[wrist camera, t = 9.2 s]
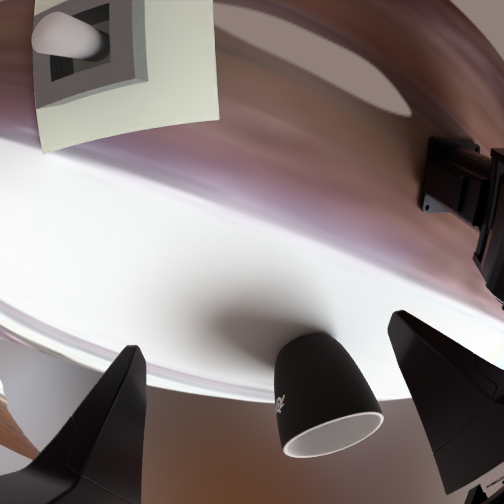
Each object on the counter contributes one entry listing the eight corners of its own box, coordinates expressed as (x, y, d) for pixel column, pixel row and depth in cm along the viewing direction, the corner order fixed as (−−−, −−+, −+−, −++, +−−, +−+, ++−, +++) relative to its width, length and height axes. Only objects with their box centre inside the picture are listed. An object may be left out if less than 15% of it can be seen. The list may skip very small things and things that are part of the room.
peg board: (211, -44, 10) (212, -100, 4) (219, 118, 16) (221, 130, 10) (42, 1, 9) (-15, -18, 3) (49, 151, 15) (-11, 183, 9)
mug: (256, 336, 26) (275, 435, 17) (348, 312, 26) (393, 398, 18) (275, 397, 32) (290, 470, 24) (345, 378, 32) (371, 446, 24)
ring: (144, -5, 11) (132, -22, 8) (148, 81, 14) (135, 78, 11) (57, 23, 10) (33, 16, 8) (60, 105, 13) (36, 109, 11)
